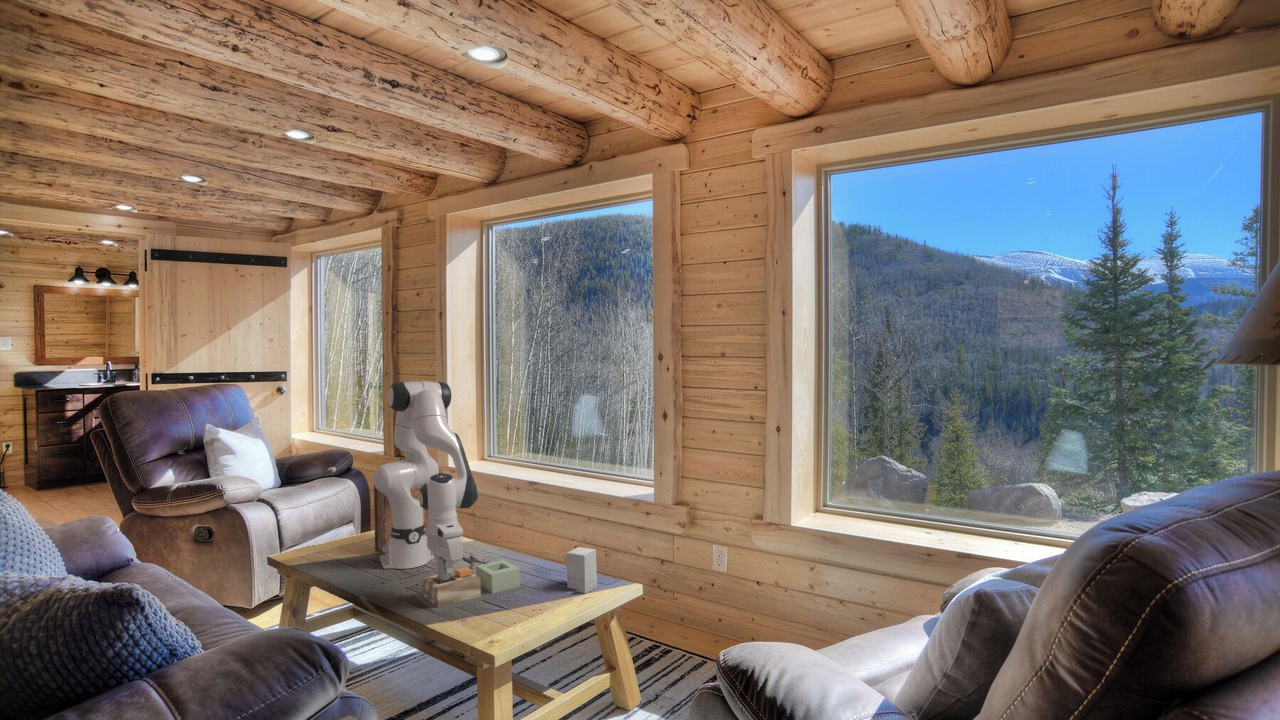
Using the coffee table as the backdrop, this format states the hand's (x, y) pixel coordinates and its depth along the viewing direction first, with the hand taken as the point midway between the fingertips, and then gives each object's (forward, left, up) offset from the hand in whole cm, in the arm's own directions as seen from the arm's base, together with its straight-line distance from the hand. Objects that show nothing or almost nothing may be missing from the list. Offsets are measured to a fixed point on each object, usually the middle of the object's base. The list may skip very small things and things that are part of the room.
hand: (444, 569), depth 215 cm
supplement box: (+19, +39, -10) cm, 45 cm away
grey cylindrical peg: (0, 0, -8) cm, 8 cm away
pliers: (-28, +22, -11) cm, 37 cm away
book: (-68, +12, -10) cm, 70 cm away
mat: (0, +9, -10) cm, 14 cm away
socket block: (0, +2, -9) cm, 10 cm away
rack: (0, +18, -9) cm, 21 cm away
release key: (0, +6, -7) cm, 9 cm away
